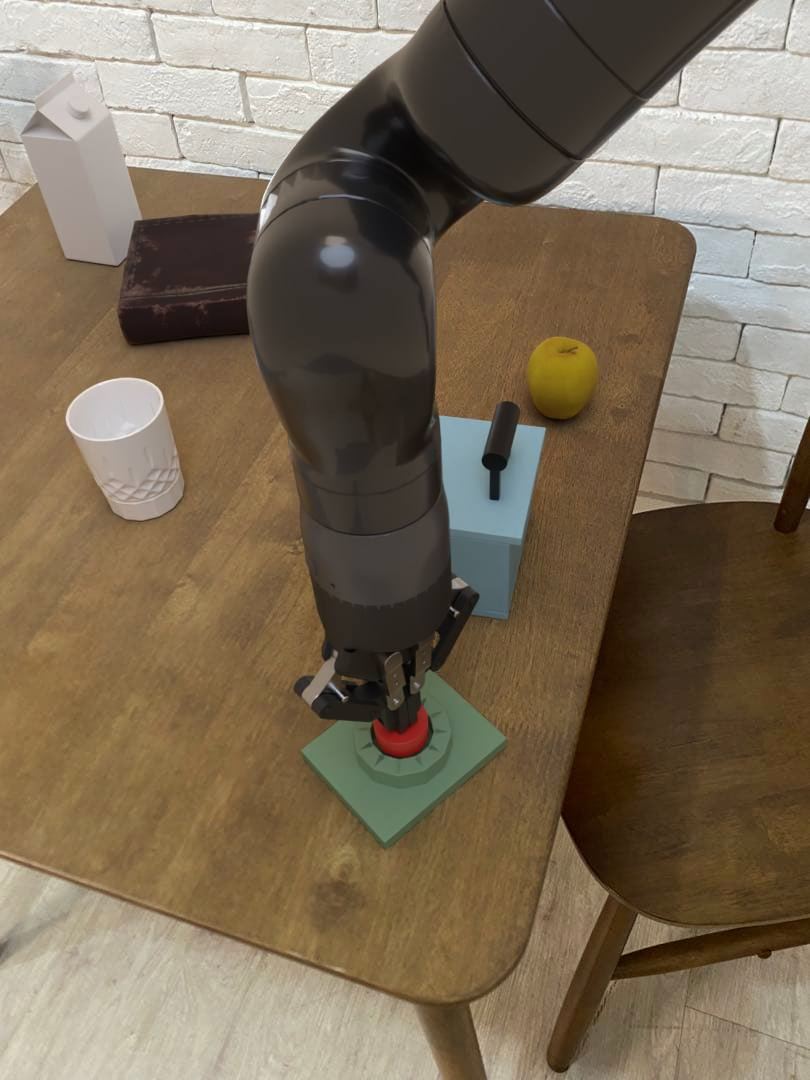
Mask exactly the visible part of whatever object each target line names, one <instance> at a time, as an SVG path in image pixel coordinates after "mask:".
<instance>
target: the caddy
mask: <svg viewBox="0 0 810 1080" xmlns="http://www.w3.org/2000/svg"><path fill="white" fill-rule="evenodd" d="M532 499H533V498H532ZM532 499H531V504H530V508H529V513H528V517H527V522H526V526H525V531H524V535H523V540H522V545H521V546H519V545H512V544H505V543H498V542H491V541H484V540H477V539H470V538H463V537H456V536H450V544H451V572H453V573H454V574H455V575H456V576H458V577H459V578H461V579H462V580H463V581H465V582H466V583H467V584H468V585H469V586H471V588H472V589H474V590H475V591H476V592H477V593H478V594H479V595H480V597H479V600H478V602H477V604H476V606H475V608H474V609H473V611H472V613H471V615H472V616H477V617H478V616H479V617H483V618H484V617H485V618H491V619H496V620H502V621H508V619H509V615H510V610H511V606H512V601H513V597H514V592H515V587H516V583H517V579H518V574H519V569H520V564H521V561H522V560H521V559H522V555H523V552H524V551H523V550H524V546H525V542H526V537H527V532H528V527H529V524H530V523H529V522H530V518H531V514H532V501H533V500H532ZM471 615H470V616H471Z"/></svg>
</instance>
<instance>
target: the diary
mask: <svg viewBox="0 0 810 1080" xmlns="http://www.w3.org/2000/svg"><path fill="white" fill-rule="evenodd" d="M258 216H259V211H255V212H244V213H243V212H242V213H241V212H240V213H238V212H237V213H236V212H235V213H201V214H200V213H198V214H185V215H176V216H167V217H166V216H165V217H157V218H148V219H142V220H138V221H134V225H133V230H132V234H131V239H130V243H129V248H128V253H127V257H126V258H125V262H124V269H123V274H122V280H121V286H120V292H119V297H118V298H119V299H118V304H117V308H116V313H117V318H118V323H119V327H120V330H121V332H122V335H123V338H124V339H125V341H126V343H127V344H128V345H139V344H147V343H153V342H160V341H161V342H162V341H169V340H177V339H183V338H184V339H186V338H193V337H205V336H217V335H218V336H220V335H231V334H232V335H233V334H246V333H250V331H249V324H248V316H247V305H246V288H247V277H248V272H249V266H250V261H251V257H252V251H253V245H254V239H255V233H256V228H257V222H258Z"/></svg>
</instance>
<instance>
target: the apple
mask: <svg viewBox="0 0 810 1080" xmlns="http://www.w3.org/2000/svg"><path fill="white" fill-rule="evenodd" d="M599 374H600V369H599V364H598V359H597V357H596V355H595V352H593V350H592V349H591V347H589V346H588V345H587V344H586V343H583V342H582V341H580V340H578V339H574V338H570V337H565V336H557V335H556V336H552V337H549V338H547V339H545V340H543V341H542V342H541V343H539V344H538V345H537V347H535V349H534V350H533V352H532V353H531V355H530V358H529V359H528V364H527V370H526V383H527V388H528V391H529V393H530V396H531V398H532V401H533V403H534V405H535V407H536V408H537V410H538V411H539V412H540V413H541V414H542V415H543V416H544V417H546V418H550V419H555V420H556V419H557V420H567V419H570V418H572V417H574V416H576V415H578V413H580V412H581V410H582V409H583V408H584V407H585V405H586V404H587V402H588V401H589V400H590V398H592V396H593V394H594V392H595V390H596V389H597V387H598V383H599V382H598V381H599V376H600V375H599Z"/></svg>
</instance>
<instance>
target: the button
mask: <svg viewBox="0 0 810 1080" xmlns="http://www.w3.org/2000/svg"><path fill="white" fill-rule="evenodd" d="M417 716H418V721H417V722H416V723H415V724H413V725H412V726H411V727H410V728H408V729H407V730H406V731H405V732H403V733H402V734H401V735H400V734H398V733H397V732H396V731H395V730H394V731H393V732H392V733H391V732H389V731H388V730H387V729H386V728H385V727H384V726H383V725H382V724H381V723H380V722H379V721H378V720H377V719H375V720H373V725H374V731H375V737H376V741H377V743H378V745H379V747H380V748H381V749H382V750H383V751H384V752H386V753H387V754H389V755H392V756H395V757H407V756H411V755H413V754H415V753H417V752H419V751H420V750H421V749H422V748H423V747H424V746H425V744H426V742H427V740H428V736H429V727H428V716H427V713H426V710H425V708H424V707H423V706H422V705H421V707H420V710H419V711H418V712H417Z"/></svg>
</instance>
